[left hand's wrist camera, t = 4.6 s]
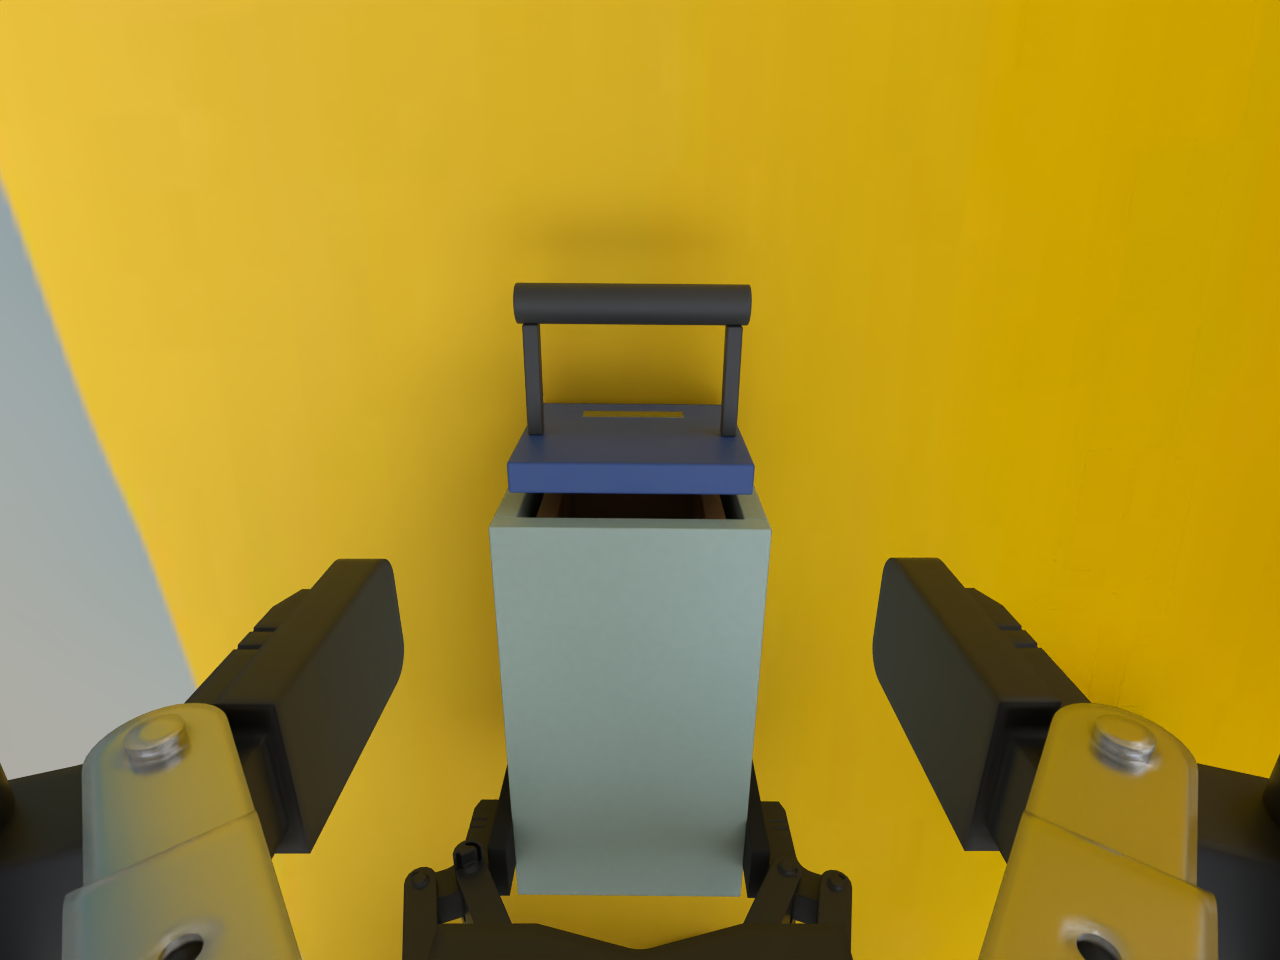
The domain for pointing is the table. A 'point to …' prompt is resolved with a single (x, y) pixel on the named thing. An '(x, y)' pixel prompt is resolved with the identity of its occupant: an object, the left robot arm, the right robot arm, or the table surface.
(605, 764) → the cabinet
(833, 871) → the right robot arm
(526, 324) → the drawer
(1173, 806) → the left robot arm
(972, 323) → the table surface
